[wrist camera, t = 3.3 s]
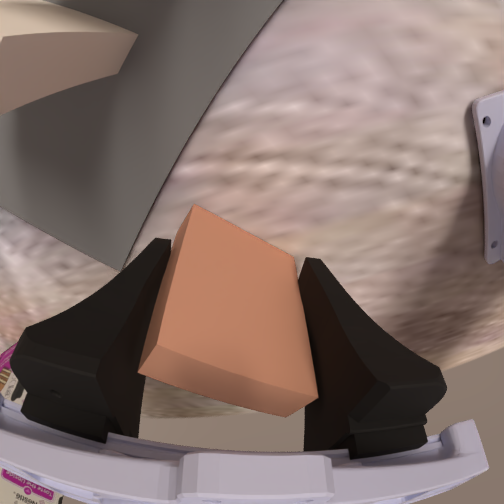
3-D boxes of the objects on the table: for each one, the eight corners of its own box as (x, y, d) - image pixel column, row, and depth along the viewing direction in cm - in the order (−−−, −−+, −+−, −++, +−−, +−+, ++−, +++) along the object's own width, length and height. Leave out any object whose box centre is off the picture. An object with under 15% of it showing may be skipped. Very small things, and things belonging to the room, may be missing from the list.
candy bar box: (48, 311, 17) (-31, 554, 3) (104, 356, 19) (58, 584, 6) (-2, 350, 20) (-57, 508, 7) (39, 383, 23) (-2, 537, 9)
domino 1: (38, -1, 7) (-105, 9, 1) (138, 34, 8) (3, 36, 3) (22, 35, 8) (-120, 71, 2) (117, 73, 9) (-22, 126, 3)
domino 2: (194, 203, 13) (156, 344, 7) (293, 257, 14) (318, 397, 9) (177, 232, 14) (137, 372, 8) (273, 280, 15) (285, 417, 9)
